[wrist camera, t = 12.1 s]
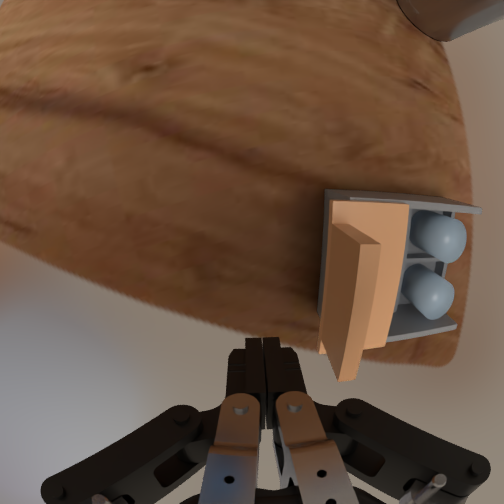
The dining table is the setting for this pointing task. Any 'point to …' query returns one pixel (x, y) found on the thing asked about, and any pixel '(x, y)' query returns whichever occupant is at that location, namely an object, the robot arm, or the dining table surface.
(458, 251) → the blue-grey rounded cylinder
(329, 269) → the lid
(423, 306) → the grey rounded cylinder
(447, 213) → the housing
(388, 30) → the dining table surface
